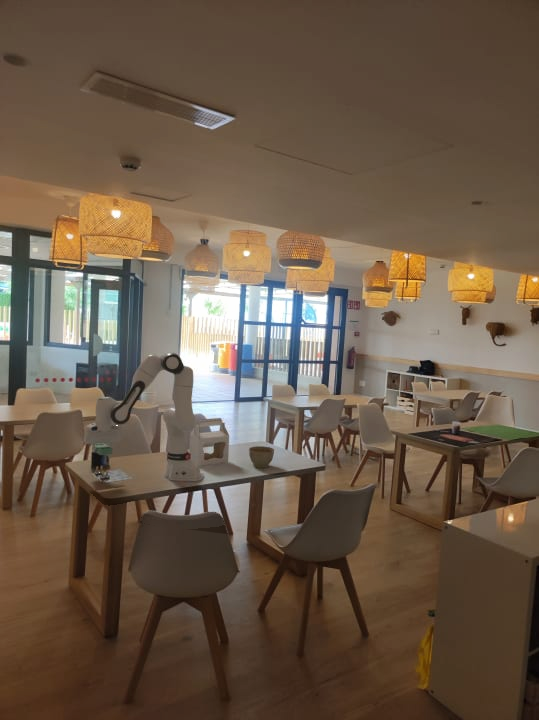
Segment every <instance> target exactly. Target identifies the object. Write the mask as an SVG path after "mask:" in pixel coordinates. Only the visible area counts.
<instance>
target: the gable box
mask: <svg viewBox="0 0 539 720" xmlns="http://www.w3.org/2000/svg"><path fill="white" fill-rule="evenodd" d="M225 424H226V422H223V420H222V418H221V417H218V418H217V417H216V418H204V419H203V418H201V419H198V423H196V424H195V426H194V427H193V428H192V431H191V432H190V433H189V443H188V446H189V447H188V449H189V451H188V452H189V453H191V459H192V460H193V461H194V462H195V463H196V464H198V465H199V467H202V466H208V465H209V466H211V465H218V464H224V463H225V464H226V463H229V453H230V452H229V451H230V447H229V446H230V434H229V432H228V430H227V428H226V425H225ZM212 426H213V427H214V426H219V429H218V430H216V431H215V430H213V431H205V432H204V431H203V432H200V428H202V427H212ZM208 443H210V444H211V443H214V444H213V452H212V453H208V452H205V451H204V445H205V444H208Z"/></svg>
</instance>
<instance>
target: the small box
mask: <svg viewBox="0 0 539 720" xmlns="http://www.w3.org/2000/svg"><path fill="white" fill-rule="evenodd" d="M90 465H91V466H90V468H91V469H95V470H96V467H97V466H98V470H101V466H102V469H104V468H105V467H108V466H109V465H110V454H107V455H99V454H98V453H97V452H95V451H92V452H91V464H90Z"/></svg>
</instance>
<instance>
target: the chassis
mask: <svg viewBox="0 0 539 720" xmlns="http://www.w3.org/2000/svg"><path fill="white" fill-rule="evenodd" d="M90 474H91V475H93V477H95V479H98V481H100V482H101V483H103V484H105V483H112V482H118V481H125V480H132V479H133V477H132V476H130V475H128V473H126V472H125V471H123V470H122V469H119V468H118V469H113V470H108V469H107V470H103V468H102V466H101V469H98V466H97V467H96V469H95V471H94V472H91V473H90Z"/></svg>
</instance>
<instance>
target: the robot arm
mask: <svg viewBox="0 0 539 720" xmlns="http://www.w3.org/2000/svg"><path fill="white" fill-rule="evenodd" d="M162 371H166V372H168V373H171V374H173V377H174V379H173V388H172V394H171V398H172V399H171V400H172V401H173V403H174V405H173V406H174V407H168V408H167V409H165V410H164V412H163V416H162V418H163V419H162V420H163V421H164V423H165V426H166V430H167V431H166V432H167V437H168V445H167V446H168V448H167V449H168V450H167V454H166V461H167V464H166V469H165V473H164V477H165V478H167V479H168V480H169V481H178V482H199V481H200V480H202V479H204V477H205V475H204V473H202V472H201V466H199V465H198V464H196V463H195V462H194V461H193V460H192V459H191V453H189V451H188V449H189V447H188V446H189V438H188V436H187V433H186V431H190V430H193V429H194V427H195V425H196V424H197V423H196V422H197V418H196V416H195V414H194V412H193V411H194V410H193V401H192V398H193V389H194V370H193V369H192V368H191V367H190V366H186V365H184V362H183V360H182V359H181V356H180V355H178V354H177V353H175V352H168V353H166V354H163V355H162V356H158V355H155V354H150V355H148V356H147V357H145V358H144V360H142V362H141V363H140V364H139V366H138V368H137V369H136V371H135V373H134V374H133V377H132V380H131V386H130V389H129V391H128V393H127V394H126V395H125V397H124V398H123V400H122V401H121V402H120V401H117V400H116V399H114V398H112V397H111V396H102V397H99V398H98V399H97V400H96V404H95V420H94V422H92V423H89V424H87V425H85V428H86V430H84V433H83V443H84V444H85V445H91V448H92V447H93V450H92V452H94V451H97V448H95V446H94V445H95V444H102V443H104V444H107V443H109V445H108V446H109V447H111V448H112V447H113V445H114V443H117V442H121V441H122V433H121V432H122V426H121V425H124V424H126V423H127V422H129V420H130V418H131V412H132V409H133V408H134V406H135V405H136V403H137V401H138V400H139V398H140V397H141V395H142V394H143V393H144V392H145V391H146V390H147V389H148V387H150V386H151V384H152V383H153V382H154V381H155V379H156V378H157V376H158V375H159V374H160V372H162ZM112 422H113V423H114V424H115V425H113V424H112Z"/></svg>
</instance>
